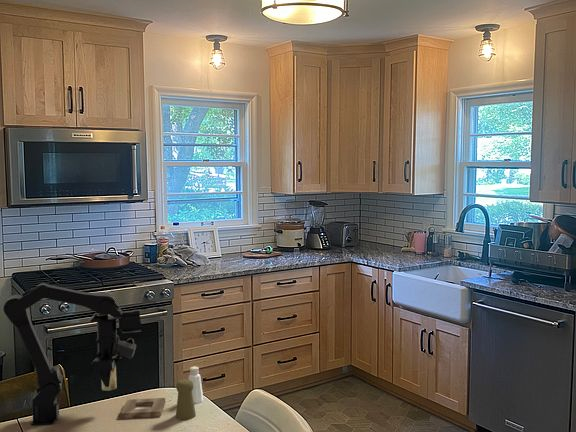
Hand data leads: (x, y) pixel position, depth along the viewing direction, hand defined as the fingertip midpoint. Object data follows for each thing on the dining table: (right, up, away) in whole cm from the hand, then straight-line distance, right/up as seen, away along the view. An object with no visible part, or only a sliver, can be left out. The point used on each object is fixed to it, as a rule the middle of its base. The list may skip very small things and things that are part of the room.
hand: (108, 384), depth 178 cm
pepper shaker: (+24, -9, -3) cm, 26 cm away
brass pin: (0, -1, 0) cm, 1 cm away
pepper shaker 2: (+25, -8, +9) cm, 28 cm away
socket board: (+10, -9, +1) cm, 14 cm away
